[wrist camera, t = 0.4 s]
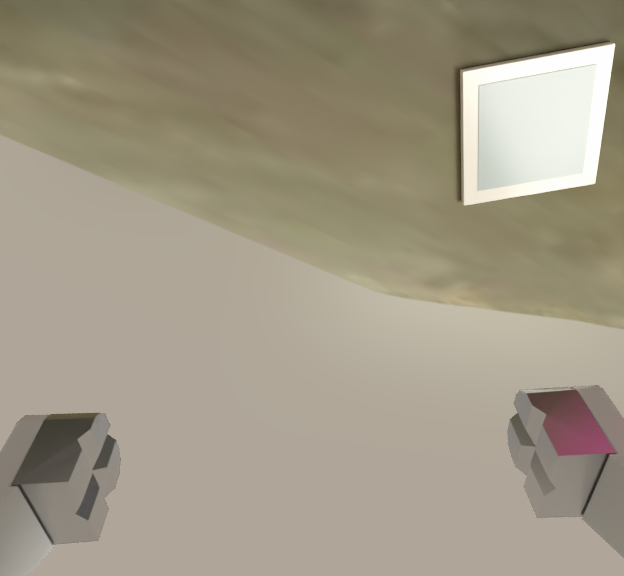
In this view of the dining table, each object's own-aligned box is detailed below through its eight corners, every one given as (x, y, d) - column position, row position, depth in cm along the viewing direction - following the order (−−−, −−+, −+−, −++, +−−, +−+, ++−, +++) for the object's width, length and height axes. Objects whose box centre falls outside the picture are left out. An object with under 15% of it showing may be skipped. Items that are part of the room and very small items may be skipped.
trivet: (460, 69, 50) (463, 72, 49) (609, 41, 49) (615, 43, 48) (461, 201, 58) (464, 205, 57) (590, 179, 57) (595, 184, 56)
